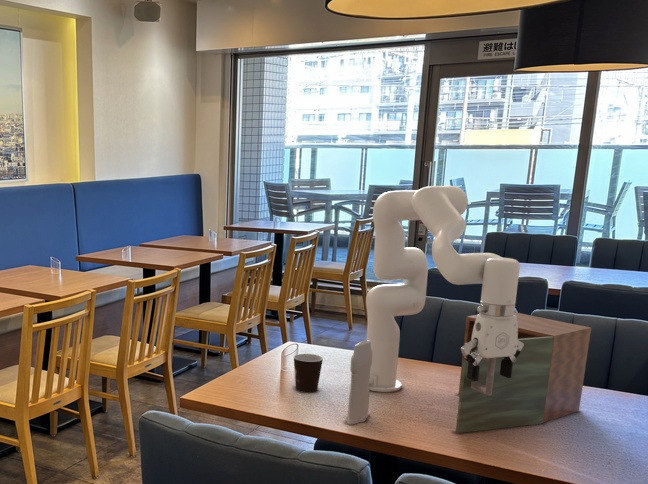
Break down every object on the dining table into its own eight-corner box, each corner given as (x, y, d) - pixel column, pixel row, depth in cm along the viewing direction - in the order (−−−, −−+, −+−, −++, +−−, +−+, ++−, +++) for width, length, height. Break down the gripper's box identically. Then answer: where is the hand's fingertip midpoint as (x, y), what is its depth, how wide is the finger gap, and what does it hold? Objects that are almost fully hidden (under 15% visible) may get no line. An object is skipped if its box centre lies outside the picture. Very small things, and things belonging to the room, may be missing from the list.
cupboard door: (561, 432, 185) (574, 343, 179) (474, 442, 179) (485, 350, 173) (539, 422, 192) (551, 336, 186) (455, 431, 186) (464, 343, 180)
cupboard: (542, 422, 192) (554, 335, 186) (458, 395, 214) (466, 316, 208) (579, 411, 200) (591, 327, 194) (494, 385, 222) (503, 309, 216)
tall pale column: (354, 426, 190) (360, 346, 184) (340, 422, 192) (345, 343, 187) (374, 416, 197) (379, 338, 192) (360, 412, 200) (365, 335, 194)
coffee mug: (315, 395, 214) (317, 363, 211) (288, 390, 218) (289, 359, 216) (328, 384, 223) (329, 354, 221) (301, 380, 228) (303, 350, 225)
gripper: (477, 315, 166) (469, 385, 170) (538, 310, 171) (529, 379, 175) (455, 308, 173) (448, 376, 177) (515, 304, 178) (507, 370, 182)
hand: (488, 378), depth 176 cm, fingers open, 9 cm apart
